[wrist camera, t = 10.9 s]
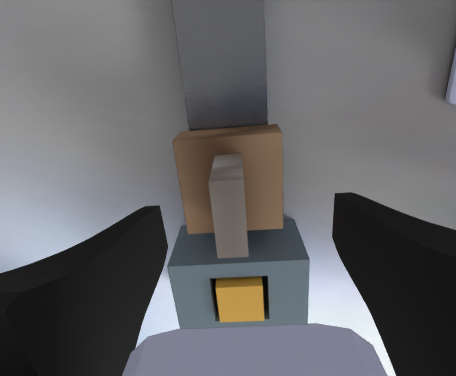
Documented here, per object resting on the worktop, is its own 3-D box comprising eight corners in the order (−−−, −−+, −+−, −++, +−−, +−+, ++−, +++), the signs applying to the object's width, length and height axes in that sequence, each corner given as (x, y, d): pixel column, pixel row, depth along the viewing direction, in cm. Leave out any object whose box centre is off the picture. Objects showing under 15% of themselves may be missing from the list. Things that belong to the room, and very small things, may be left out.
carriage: (276, 124, 17) (296, 152, 11) (277, 209, 20) (295, 271, 14) (180, 131, 18) (152, 163, 12) (193, 215, 20) (175, 277, 14)
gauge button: (258, 252, 21) (262, 285, 18) (260, 284, 22) (264, 320, 19) (218, 254, 21) (215, 288, 18) (222, 286, 22) (220, 322, 19)
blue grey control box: (294, 219, 22) (309, 259, 18) (293, 280, 24) (307, 329, 20) (176, 226, 23) (161, 267, 18) (186, 285, 25) (175, 334, 20)
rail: (256, -145, 14) (258, -168, 13) (268, 210, 22) (270, 219, 20) (158, -132, 14) (150, -153, 13) (204, 213, 22) (202, 223, 21)
